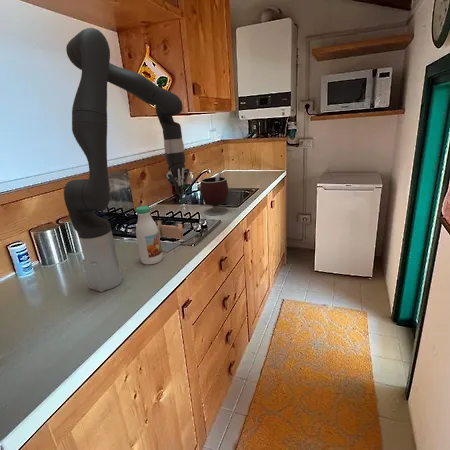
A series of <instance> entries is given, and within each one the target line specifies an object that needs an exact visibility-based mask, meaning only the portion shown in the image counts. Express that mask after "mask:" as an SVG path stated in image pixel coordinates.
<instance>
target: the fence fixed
mask: <svg viewBox="0 0 450 450" xmlns="http://www.w3.org/2000/svg"><path fill="white" fill-rule="evenodd" d="M156 222H157V223H156V224H157V228H158V232H159V237H163V234H162V228H161V225H163V224H162V220H157V221H156Z"/></svg>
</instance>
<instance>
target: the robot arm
mask: <svg viewBox="0 0 450 450" xmlns="http://www.w3.org/2000/svg"><path fill="white" fill-rule="evenodd" d="M65 48H66V49H65V50H66V54H67V58H68V60H69V61H70V62H71V64H73V66H74V67H76V68H77V69H79V70H80V71H81V77H80V82H79V84H78V87H77V89H76V92H75V93H76V94H75V96H74V99H73V104H72V108H71V109H72V110H71V131H72V135H73V137H74V139H75V141H76V143H77V144H78V146H79V147H80V149H81V151H82V152H83V154H84V155H85V157H86V160H87V164H88V170H89V175H88V176H89V177H88V178H85V179H84V178H83V179H82V178H81V179H79V178H78V179H71V180H69V181H68V182H67V183H66V184H64V185H65V186H64V188H63V199H64V204H65V207H66V210H67V213H68V215H69V216H68V217H69V218H70V222H71V225H72V227H73V229H74V230H75V231H76V233H77V236H78V240H79V244H80V248H81V251H82V255H83V259H82V260H81V264H82V267H83V271H84V274H85V279H86V282H87V286H88V288H89V289H90V290H94V291H97V292H99V293H103V292H104V291H107V290H111V289H114V288H116V287H118V286H119V285H120V284H121V283H122V282H123V276H122V271H121V267H120V261H119V258H118V255H117V249H116V245H115V241H114V236H113V232H112V227H111V223H110V221H109V220H108V219H106V218H103V217H100V216H99V215H97V214H95V212H104V211H106V209H107V208H108V207H109V205H110V204H109V203H110V199H111V198H110V197H111V195H110V194H111V192H110V189H111V188H110V180H109V179H110V178H109V169H108V168H109V167H108V150H107V149H108V83H109V84H112V85H114V86H116V87H117V88H120V89H122V90H125V91H126V92H128V93H129V94H131V95H133V96H134V97H136V98H137V99H139V100H141V101H142V102H144V103H145V104H148V105H151V106H155V112H156V116H157V118H158V121H159V124H160V126H161V130H162V134H163V135H162V136H163V146H164V147H163V149H164V155H165V162H166V164H167V165H168V168H167V171H168V172H167V173H165V174H164V177H165V178H166V180H167V181H168V182H169V183H170V185H171V186H175V191H176V192H175V193H176V195H178V196H180V195H181V196H182V195H184V184H185V183H186V182H187V180H188V176H189V173H190V169H189V168H186V165H185V163H186V153H185V146H184V141H183V134H182V128H181V127H182V126H181V124H180V123H179V122H175V120H174V117H173V116H177V115H180V114H181V112H182V111H183V107H184V106H183V102H182V100H181V98H180V97H179V96H178V95H177V94H175V93H174V92H171V90H167V89H166V88H163V87H160V86H159V85H157V84H156V83H154V82H153V81H151V80H150V79H148V78H147V77H145V76H144V75H142V74H141V73H138V72H136V71H132V70H129V69H127V68H126V69H125V68H123V67H120V66H118V65H115V64H113V63H111V62H110V61H111V50H110V45H109V42H108V40H107V38H106V37H105V34H103V33H102V32H101V31H100V30H99V29H96V28H95V27H87V28H84V29H83V30H82V29H81V30H80V31H79V32H78V33H77V34H76V35H75V36H73V37H72V38H71V39H70V40H69V41H68V43H67V44H66V47H65Z"/></svg>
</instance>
